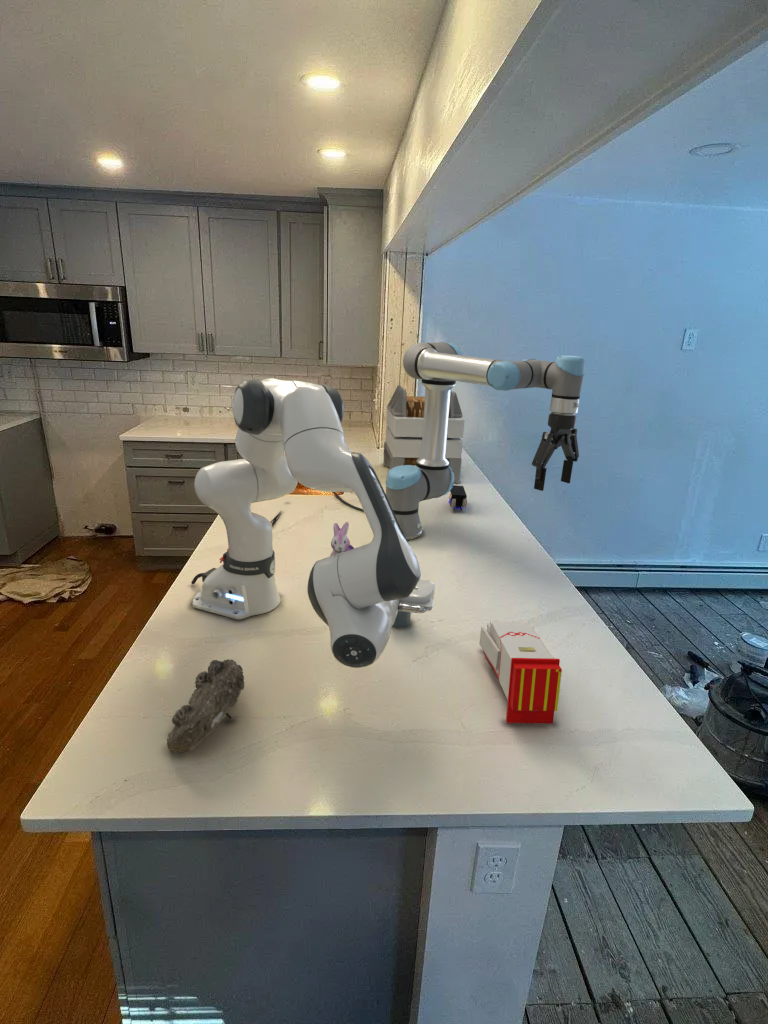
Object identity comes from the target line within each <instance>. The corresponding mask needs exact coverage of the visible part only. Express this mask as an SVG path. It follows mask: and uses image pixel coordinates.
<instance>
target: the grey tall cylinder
mask: <svg viewBox="0 0 768 1024" xmlns="http://www.w3.org/2000/svg"><path fill="white" fill-rule="evenodd" d="M411 620H412V613H411V612H404V611H398V613H397V616H396V619H395V622H394V624H393V626H392V628H397V629H404V628H408V627H409V626H410V625H411V622H412V621H411Z"/></svg>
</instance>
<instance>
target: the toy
mask: <svg viewBox="0 0 768 1024" xmlns="http://www.w3.org/2000/svg"><path fill="white" fill-rule="evenodd" d="M478 642H479V643H478V644H479V646H480V647H481V650H482V651H483V654H484V655H485V657H486V659H487V661H488V663H489V664H490V666H491V669H492V670H493V672H494V674H495V676H496V678H497V679H498V682H499V684H500V687H501V688H502V691H503V693H504V695H505V697H506V699H507V706H506V717H505V722H506V724H547V725H549V724H551V725H553V724H554V718H555V712H558V711H559V710H558V709H559V698H560V689H561V682H562V681H561V680H562V672H563V671H562V667H561V666H560V663H561V659H560V658H554V656H553V654H552V653H551V651H550V650H549V649H548V647H547V646H546V644H545V643H544V642H543V640H542V638H540V636H539V635H538V633H537V631H536V630H535V627H534V626H532V625H531V623H530V622H529V620H528V621H527V620H526V621H525V620H524V621H523V620H490V621H489V622H487V623H486V628H485V626H480V634H479V641H478Z"/></svg>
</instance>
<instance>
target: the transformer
mask: <svg viewBox="0 0 768 1024" xmlns="http://www.w3.org/2000/svg"><path fill="white" fill-rule="evenodd" d="M407 394H408V393H407V390H406V389H404V388H403V387H402V385H399V384H398V385H397V386H396V388H395V390H394V392H393V394H392V395H391V398H390V400H389V402H388V404H387V405H386V413H385V414H386V415H385V423H386V428H385V438H384V442H383V466H384V467H388V468H389V470H390V469H392V468H394V467H396V466H401V465H404V466H405V465H413V466H416V461H417V459H418V458H420V457H421V449H422V434H423V419H424V404H425V396H415V395H414V396H413V395H412V396H411V395H407ZM464 429H465V419H464V418H463V411H462V408H461V405H460V402H459V398H458V395H457V392H455V391H453V390H451V392H450V404H449V416H448V428H447V441H446V453H445V458H446V459H447V461H448V462H449V466H450V467H451V469H452V473H454V484H455V483H456V484H459V483H461V472H462V461H463V460H462V453H463V442H464V441H463V440H462V439H463V438H464V431H465V430H464Z"/></svg>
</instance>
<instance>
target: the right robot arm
mask: <svg viewBox="0 0 768 1024" xmlns="http://www.w3.org/2000/svg"><path fill="white" fill-rule="evenodd" d="M585 365H586V360H585V358H584V357H582V356H578V355H566V354H565V355H564V354H563V355H558V356H557V357H556V360H555V361H549V360H541V359H536V358H524V359H521V360H506V359H505V360H504V359H503V360H502V359H496V358H487V357H479V356H471V355H464V354H463V352H462V350H461V349H460V347H459V346H457V345H456V344H455V343H451V342H445V341H443V342H442V341H441V342H440V341H439V342H438V341H437V342H417V343H414V344H412V345H411V346H409V347H408V348H407V350H406V351H405V353H404V355H403V358H402V366H403V369H404V372H405V373H406V374H407V375H408V376H409V377H411V378H412V379H415V380H421V385H422V386H423V387H424V389H425V392H424V397H425V404H424V419H423V434H422V449H421V457H420V458H418V459H417V461H416V466H413V465H401V466H396V467H394V468H392V469H390V468H389V470H388V472H387V474H386V479H385V494H386V496H387V498H388V501H389V503H390V505H391V507H392V509H393V512H394V514H395V516H396V518H397V521H398V523H399V525H400V527H401V529H402V531H403V533H404V535H405V537H406V539H407V541H410V540H415V539H418V538H420V537H421V536H422V535H423V524H422V521H421V518H420V515H419V507H420V506H419V505H420V502H423V501H427V500H431V499H437V498H440V497H443V496H446V495H448V493H450V490H451V489H452V487H453V485H454V484H455V483H454V473H452V469H451V467H450V466H449V462H448V461H447V459H446V458H445V453H446V441H447V428H448V416H449V404H450V392H451V391H452V389H453V388H454V387H455V386H456V384H457V382H461V383H465V384H473V385H479V386H487V387H491V388H492V389H494V390H496V391H503V392H504V391H511V390H520V389H532V388H533V389H534V388H539V389H546V390H551V398H550V404H549V413H548V418H547V419H548V420H547V426H548V427H549V428H550V431H549V432H548V431H543V432H542V435H541V440H540V442H539V445H538V447H537V449H536V452H535V454H534V457H533V460H532V461H531V466H533V467H535V475H534V477H535V478H534V485H533V489H534V490H537V491H539V492H543V491H544V489H545V484H546V483H545V482H546V476H547V468H546V466H547V465H548V463H549V461H550V459H551V457H552V456H553V454H554V453H555V451H556V450H557V449H558V448H560V447H561V449H562V452H563V455H564V458H565V459H563V463H562V468H561V469H562V470H561V475H560V482H562V483H566V484H571V478H572V472H573V466H574V463H576V462H578V461H579V457H580V453H579V444H578V428H576V423H577V419H578V416H577V414H578V412H579V411H578V410H579V406H580V397H581V391H582V385H583V380H584V376H585ZM332 494H333V495H334V496H336V498H338V499H339V500H340V501H341V502H342V503H343V504H345V505H347V506H348V507H351V508H353V509H355V510H357V511H361V512H362V513H364V510H363V508H362V507H358V506H356V505H353V504H351V503H348V502H347V501H345V499H343V498H342V497H341V496H339V494H337V492H332Z"/></svg>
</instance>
